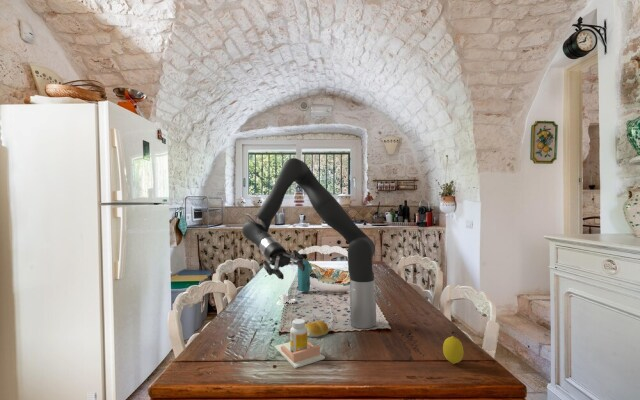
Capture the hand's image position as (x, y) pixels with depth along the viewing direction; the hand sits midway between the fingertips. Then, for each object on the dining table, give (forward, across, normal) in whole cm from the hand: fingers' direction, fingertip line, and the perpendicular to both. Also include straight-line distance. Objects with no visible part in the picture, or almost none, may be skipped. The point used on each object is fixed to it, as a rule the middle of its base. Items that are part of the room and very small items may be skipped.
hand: (293, 273), depth 112 cm
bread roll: (+11, +3, +21) cm, 24 cm away
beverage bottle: (-29, +23, +43) cm, 57 cm away
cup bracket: (+20, -9, +14) cm, 26 cm away
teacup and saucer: (-19, +8, +36) cm, 41 cm away
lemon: (+50, +24, +8) cm, 57 cm away
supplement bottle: (+19, -9, +14) cm, 25 cm away
